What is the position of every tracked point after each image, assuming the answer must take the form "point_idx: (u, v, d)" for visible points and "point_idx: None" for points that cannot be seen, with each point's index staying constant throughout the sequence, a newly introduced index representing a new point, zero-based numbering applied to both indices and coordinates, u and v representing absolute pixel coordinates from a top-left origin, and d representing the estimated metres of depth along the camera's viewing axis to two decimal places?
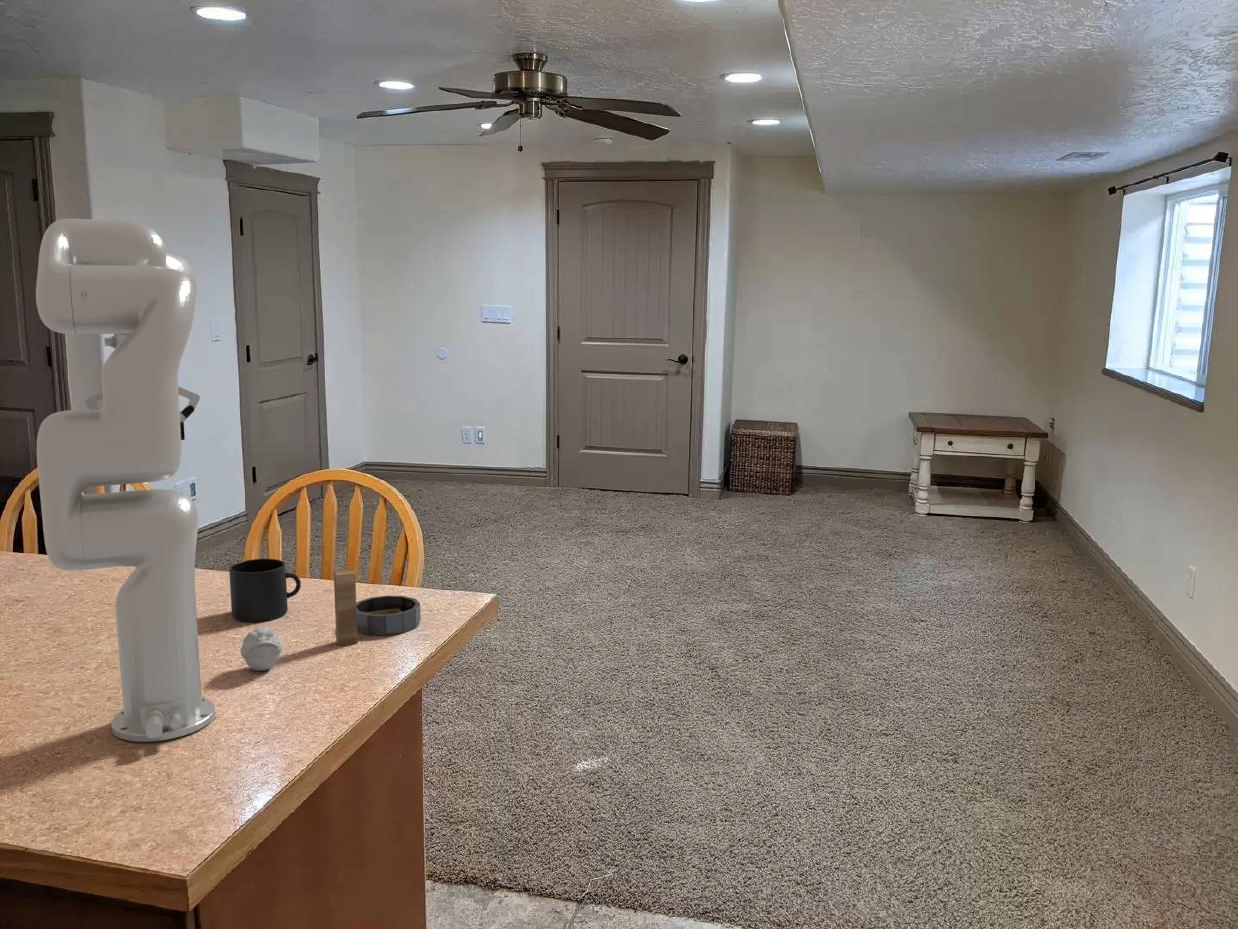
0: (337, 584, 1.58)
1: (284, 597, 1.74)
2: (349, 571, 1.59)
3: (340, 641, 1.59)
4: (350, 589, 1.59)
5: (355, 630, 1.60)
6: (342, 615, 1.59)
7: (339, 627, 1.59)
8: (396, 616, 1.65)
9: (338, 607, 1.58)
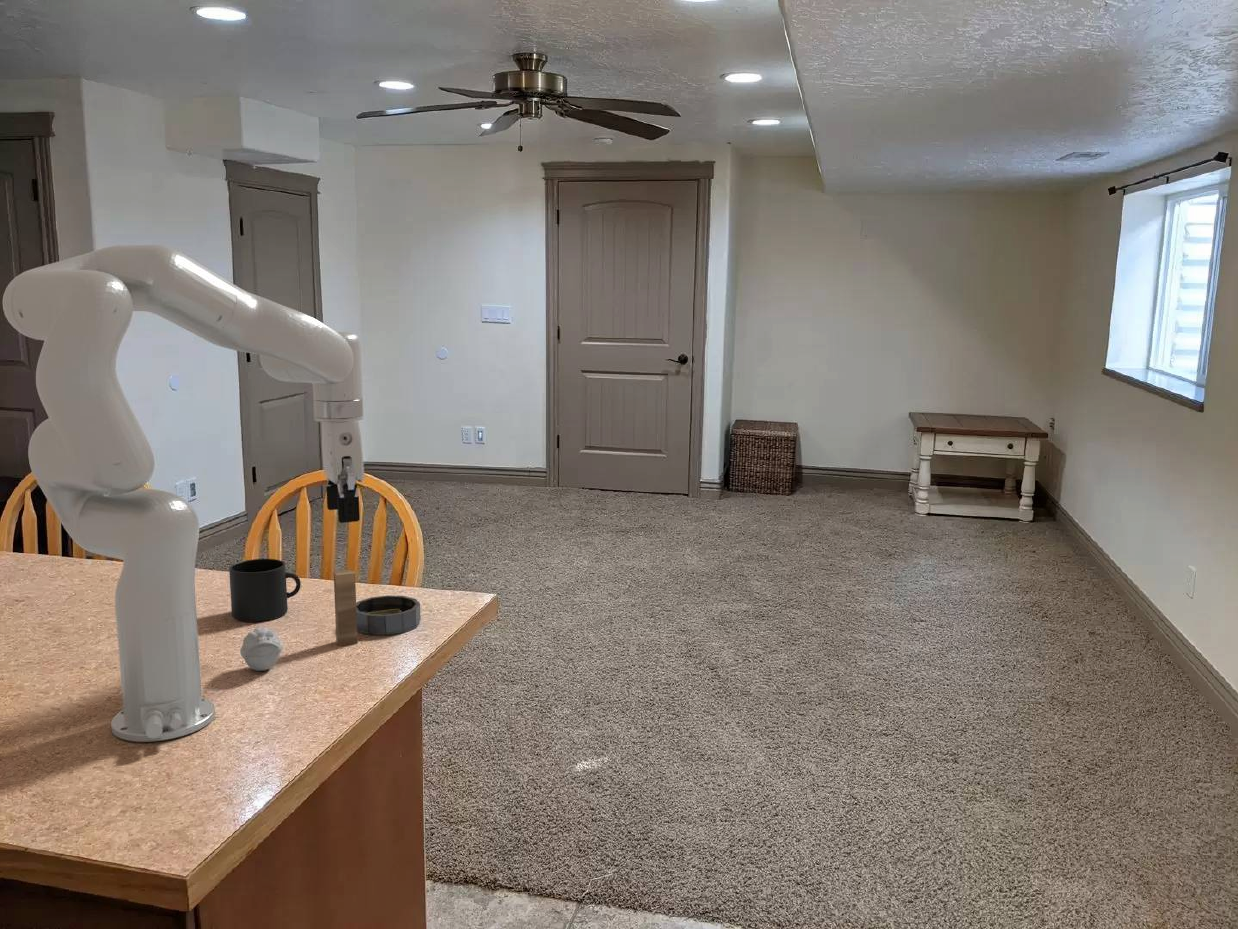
0: (337, 584, 1.58)
1: (284, 597, 1.74)
2: (349, 571, 1.59)
3: (340, 641, 1.59)
4: (350, 589, 1.59)
5: (355, 630, 1.60)
6: (342, 615, 1.59)
7: (339, 627, 1.59)
8: (396, 616, 1.65)
9: (338, 607, 1.58)
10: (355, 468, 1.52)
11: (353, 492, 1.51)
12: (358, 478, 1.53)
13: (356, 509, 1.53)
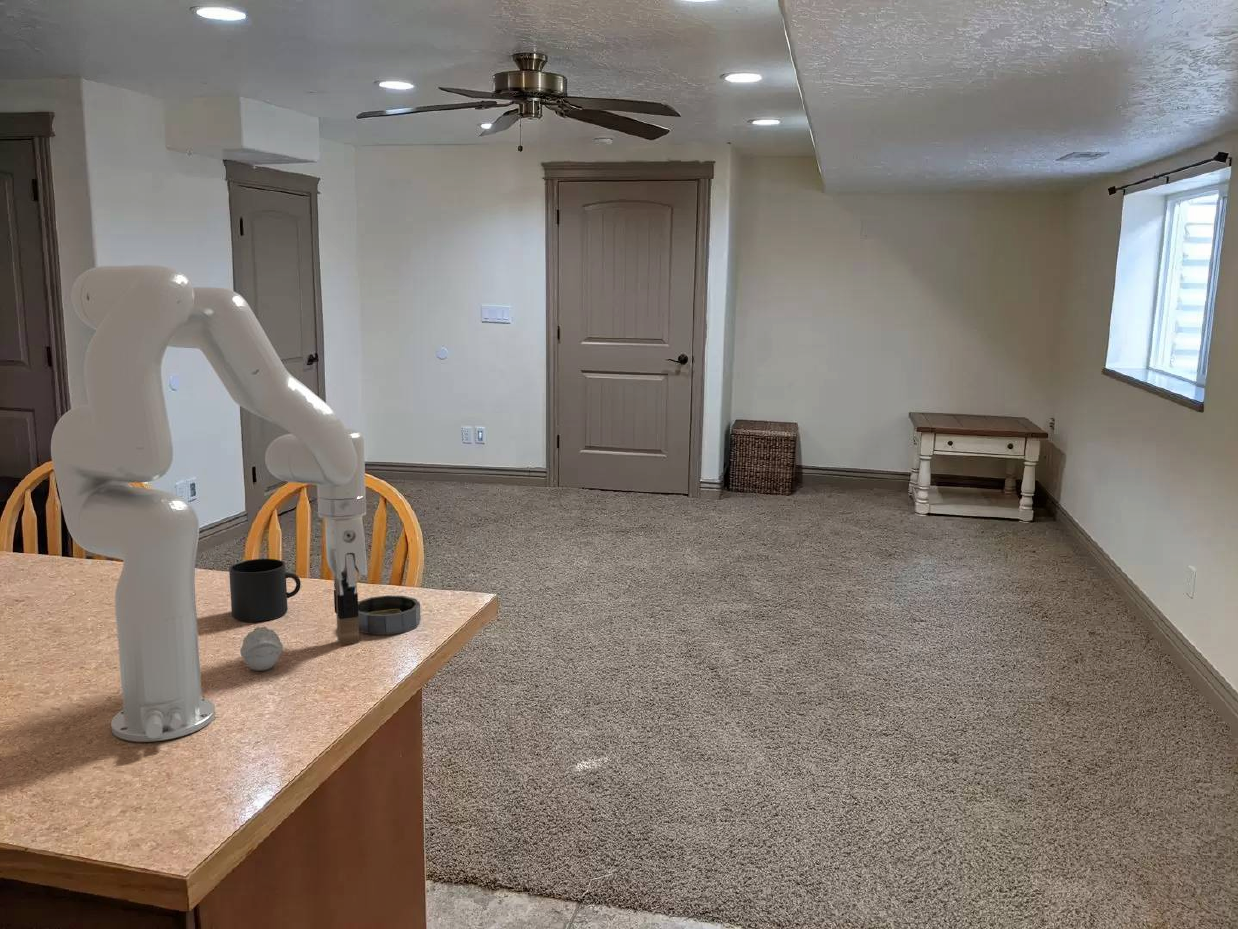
0: (338, 584, 1.58)
1: (284, 597, 1.74)
2: None
3: (342, 640, 1.60)
4: None
5: (357, 629, 1.60)
6: None
7: (341, 626, 1.59)
8: (396, 616, 1.65)
9: None
10: (358, 564, 1.55)
11: (352, 590, 1.57)
12: (361, 574, 1.55)
13: (355, 605, 1.59)
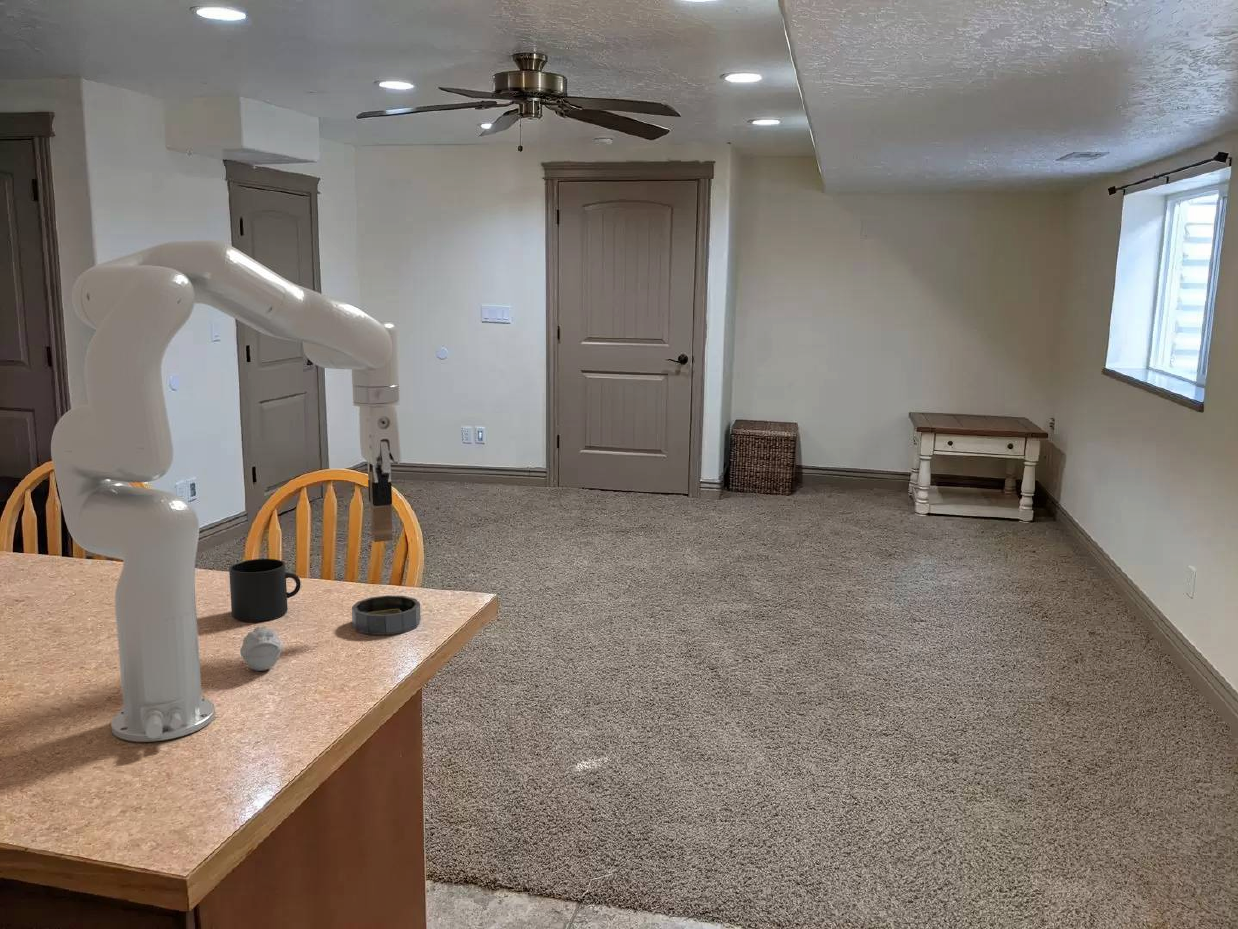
0: (372, 481, 1.63)
1: (284, 597, 1.74)
2: None
3: (376, 537, 1.65)
4: None
5: (390, 527, 1.66)
6: (377, 512, 1.64)
7: (375, 524, 1.64)
8: (396, 616, 1.65)
9: None
10: (392, 451, 1.60)
11: (386, 477, 1.62)
12: (395, 460, 1.60)
13: (389, 493, 1.64)
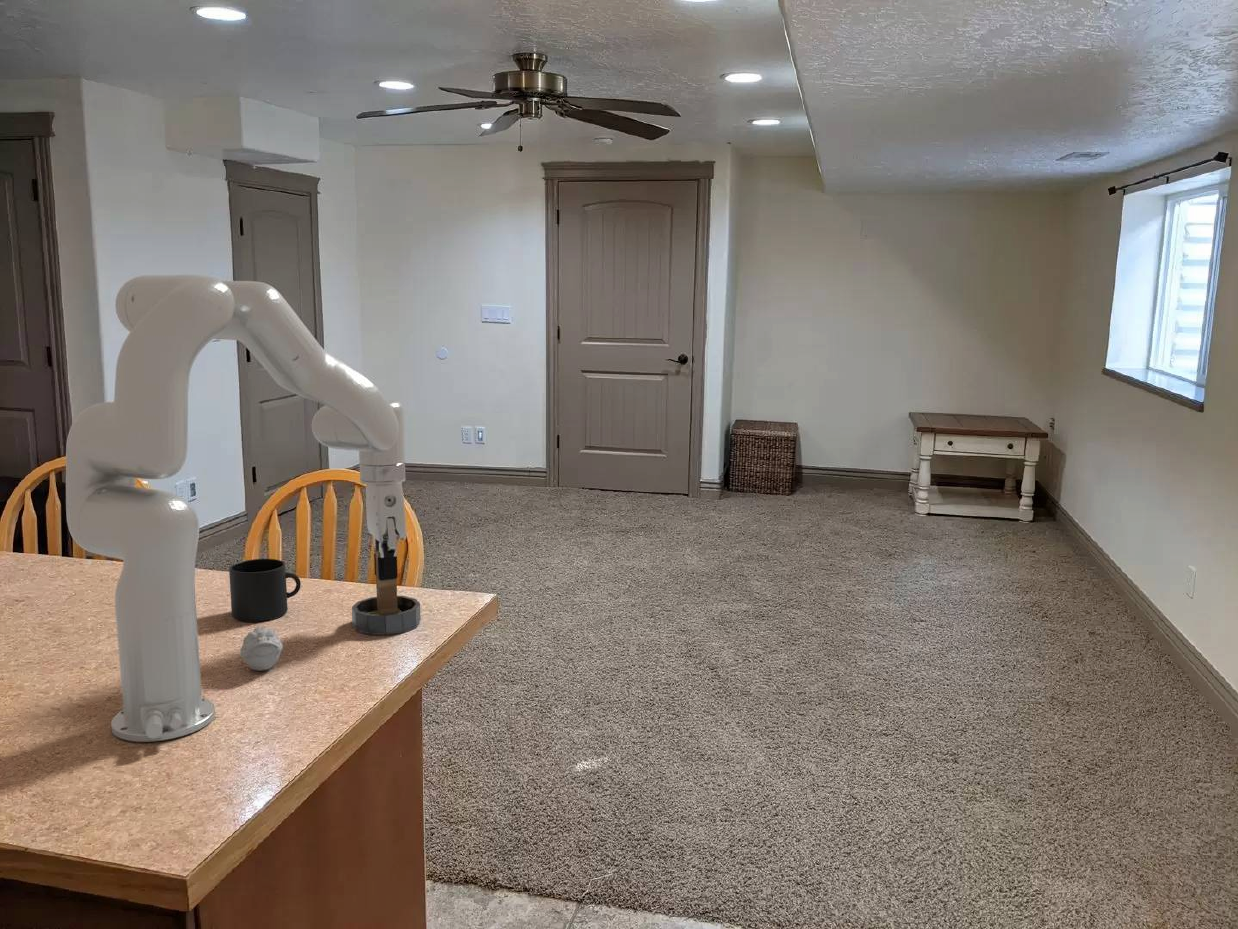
0: None
1: (284, 597, 1.74)
2: None
3: None
4: None
5: (395, 605, 1.69)
6: (383, 591, 1.67)
7: (380, 602, 1.68)
8: (396, 616, 1.65)
9: (380, 583, 1.67)
10: (398, 528, 1.63)
11: (392, 553, 1.65)
12: (401, 537, 1.63)
13: (394, 568, 1.67)
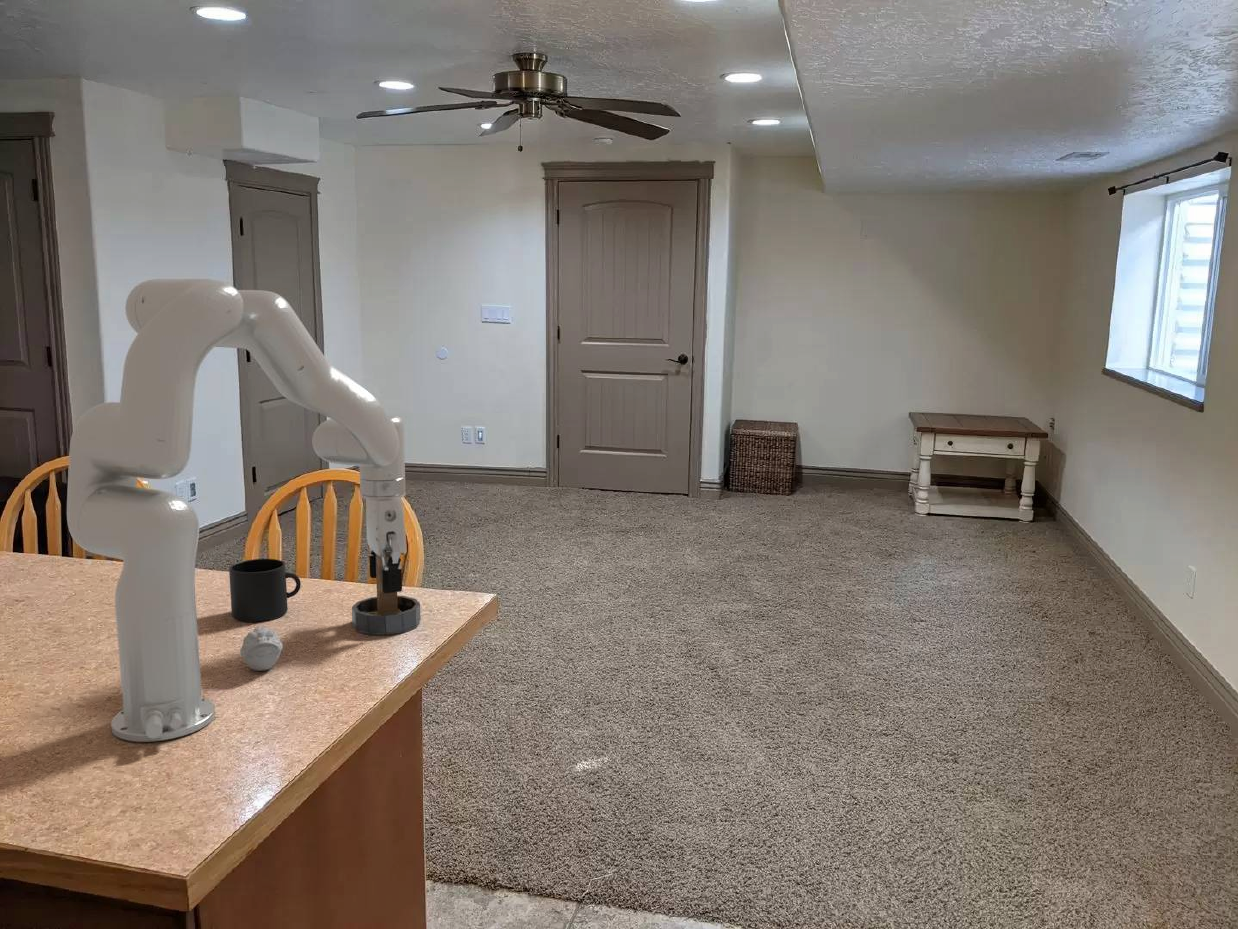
0: (379, 566, 1.67)
1: (284, 597, 1.74)
2: None
3: None
4: None
5: (396, 610, 1.69)
6: (383, 595, 1.68)
7: (381, 607, 1.68)
8: (396, 616, 1.65)
9: (380, 588, 1.67)
10: (398, 542, 1.63)
11: (397, 565, 1.62)
12: (401, 551, 1.64)
13: (399, 580, 1.64)
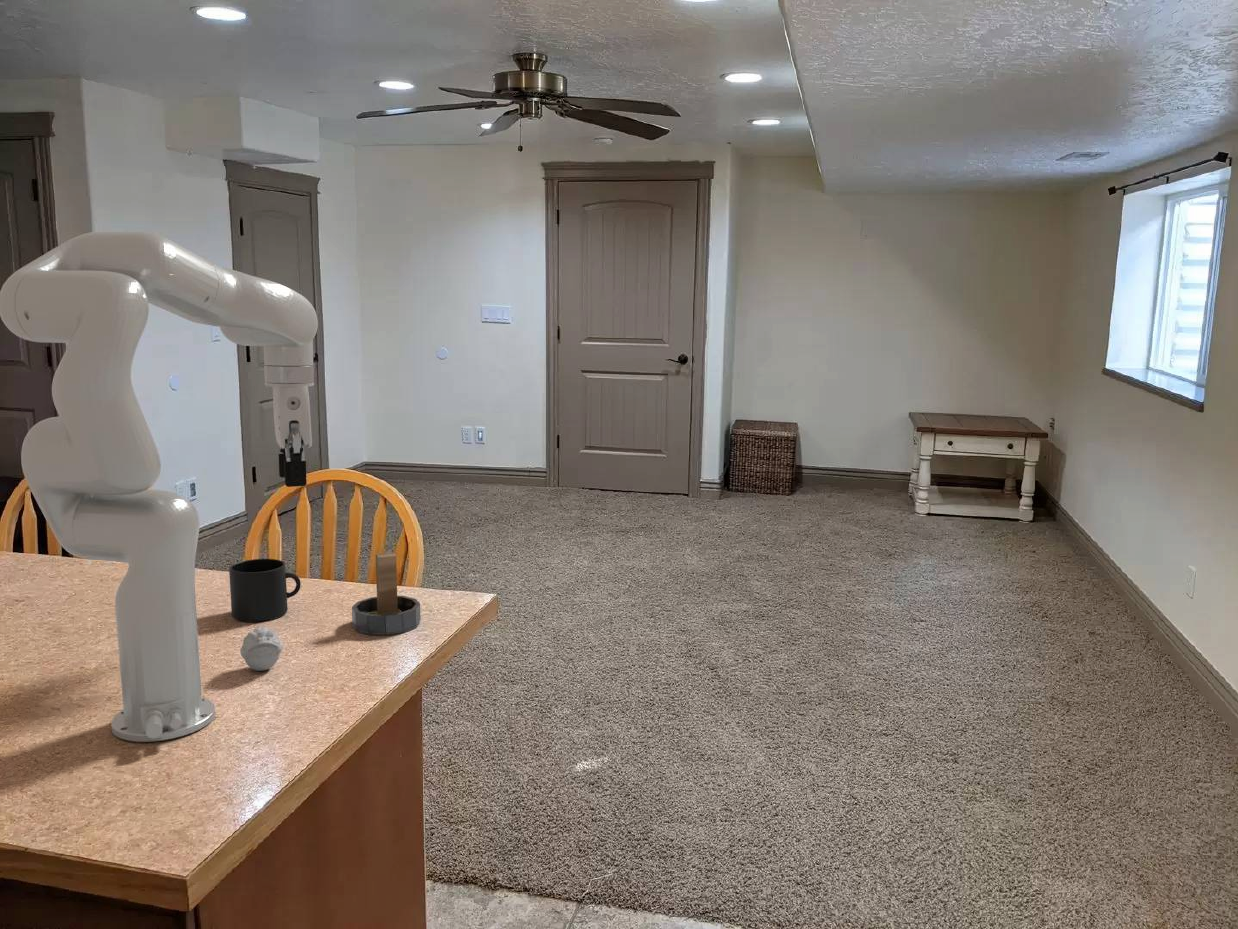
0: (379, 566, 1.67)
1: (284, 597, 1.74)
2: (390, 554, 1.68)
3: None
4: (391, 571, 1.68)
5: (396, 610, 1.69)
6: (383, 595, 1.68)
7: (381, 607, 1.68)
8: (396, 616, 1.65)
9: (380, 588, 1.67)
10: (302, 433, 1.54)
11: (299, 456, 1.53)
12: (305, 443, 1.55)
13: (303, 474, 1.55)
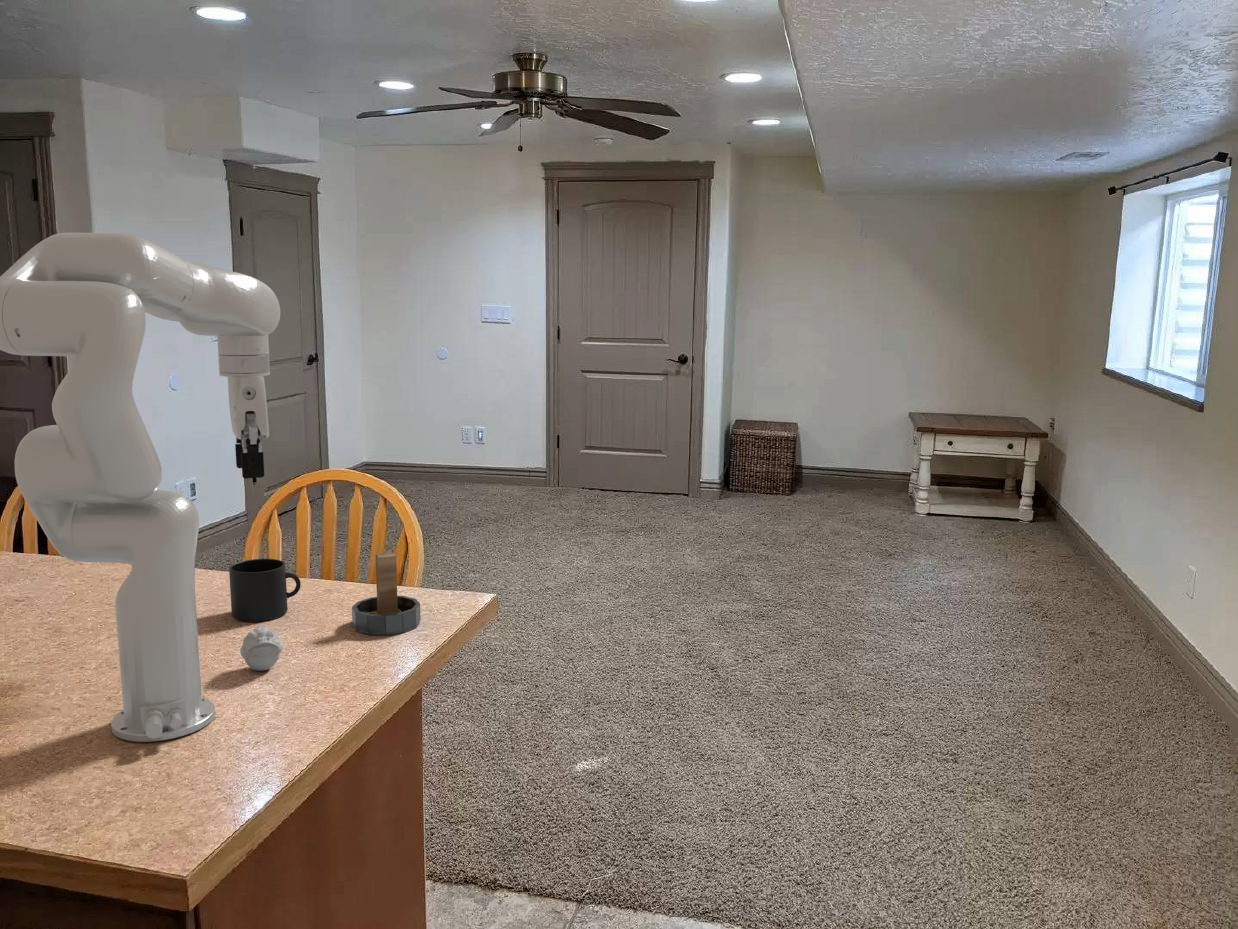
0: (379, 566, 1.67)
1: (284, 597, 1.74)
2: (390, 554, 1.68)
3: None
4: (391, 571, 1.68)
5: (396, 610, 1.69)
6: (383, 595, 1.68)
7: (381, 607, 1.68)
8: (396, 616, 1.65)
9: (380, 588, 1.67)
10: (259, 423, 1.51)
11: (256, 447, 1.50)
12: (262, 433, 1.52)
13: (260, 465, 1.52)
